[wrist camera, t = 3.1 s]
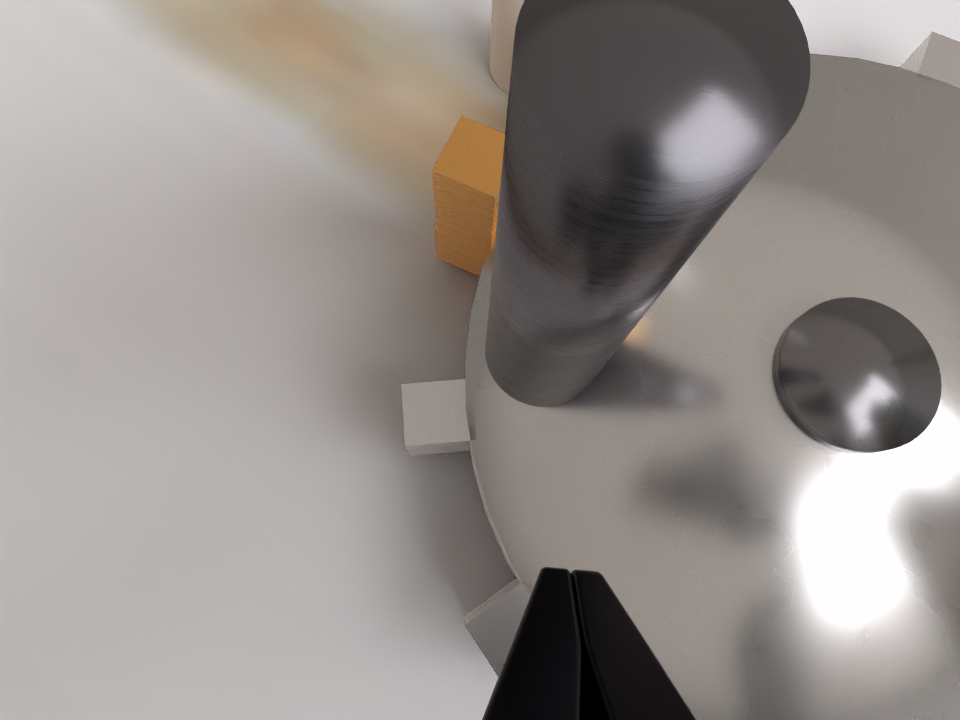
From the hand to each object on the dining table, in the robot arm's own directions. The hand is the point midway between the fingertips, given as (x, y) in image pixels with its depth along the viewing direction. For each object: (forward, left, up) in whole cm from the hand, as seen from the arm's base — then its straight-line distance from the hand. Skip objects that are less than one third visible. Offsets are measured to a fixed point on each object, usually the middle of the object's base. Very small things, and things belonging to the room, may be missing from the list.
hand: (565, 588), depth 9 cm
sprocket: (+8, -6, -9) cm, 13 cm away
